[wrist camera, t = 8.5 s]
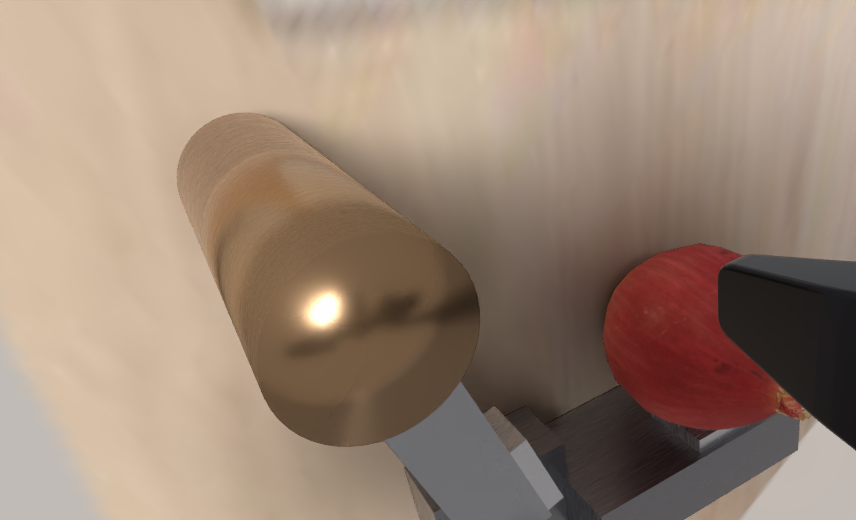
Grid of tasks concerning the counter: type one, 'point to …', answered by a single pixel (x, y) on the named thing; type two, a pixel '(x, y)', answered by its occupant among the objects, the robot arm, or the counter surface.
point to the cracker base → (638, 460)
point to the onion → (686, 346)
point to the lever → (352, 317)
